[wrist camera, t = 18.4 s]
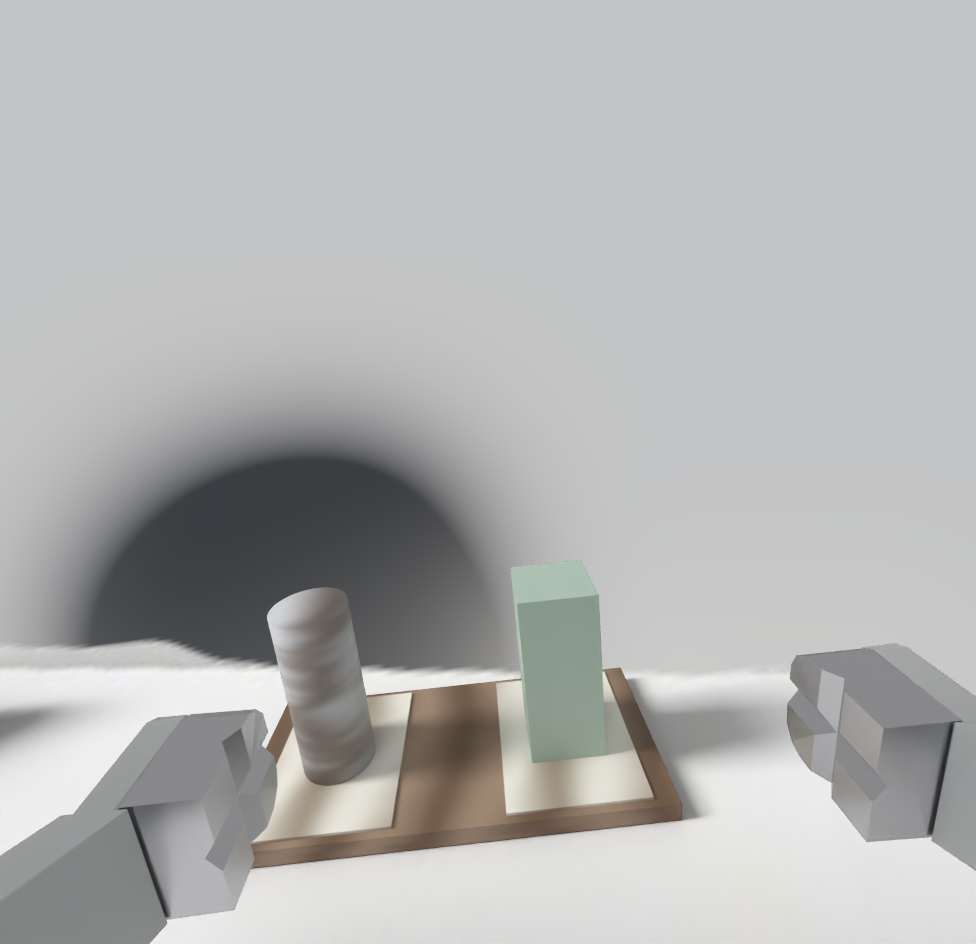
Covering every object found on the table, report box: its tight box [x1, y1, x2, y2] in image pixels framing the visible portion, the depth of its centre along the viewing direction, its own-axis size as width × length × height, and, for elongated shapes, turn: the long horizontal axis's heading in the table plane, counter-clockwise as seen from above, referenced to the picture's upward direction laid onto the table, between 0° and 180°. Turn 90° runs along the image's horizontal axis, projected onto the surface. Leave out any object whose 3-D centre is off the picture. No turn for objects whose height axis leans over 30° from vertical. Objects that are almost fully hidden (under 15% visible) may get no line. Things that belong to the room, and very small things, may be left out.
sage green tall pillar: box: [511, 560, 606, 763], centre depth 36 cm, size 5×5×12 cm
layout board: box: [251, 588, 682, 868], centre depth 36 cm, size 28×13×13 cm, turn 92°
